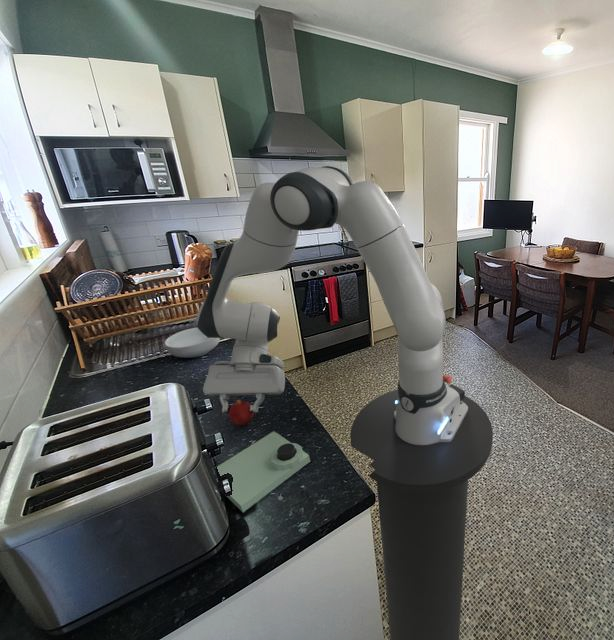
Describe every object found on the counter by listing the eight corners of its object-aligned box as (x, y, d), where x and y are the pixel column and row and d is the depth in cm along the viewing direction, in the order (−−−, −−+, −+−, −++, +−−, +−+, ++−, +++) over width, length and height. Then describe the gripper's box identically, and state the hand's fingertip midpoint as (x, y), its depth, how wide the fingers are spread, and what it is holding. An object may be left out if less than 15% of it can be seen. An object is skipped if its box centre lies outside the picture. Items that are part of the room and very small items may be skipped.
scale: (275, 436, 87) (272, 425, 86) (311, 461, 80) (308, 450, 78) (209, 479, 75) (204, 467, 74) (243, 513, 68) (239, 500, 66)
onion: (229, 423, 92) (222, 399, 89) (252, 414, 96) (246, 390, 92) (235, 435, 88) (228, 409, 85) (259, 424, 92) (253, 400, 88)
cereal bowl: (190, 342, 136) (185, 325, 134) (232, 342, 136) (227, 326, 133) (158, 364, 121) (152, 346, 118) (204, 365, 120) (199, 347, 117)
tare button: (289, 446, 80) (288, 441, 79) (298, 453, 78) (297, 447, 77) (275, 456, 77) (273, 450, 77) (284, 463, 75) (283, 457, 75)
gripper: (204, 358, 91) (192, 411, 86) (281, 357, 92) (274, 410, 87) (217, 364, 97) (206, 414, 92) (290, 363, 98) (283, 413, 93)
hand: (240, 412), depth 89 cm, fingers closed on onion, 6 cm apart
